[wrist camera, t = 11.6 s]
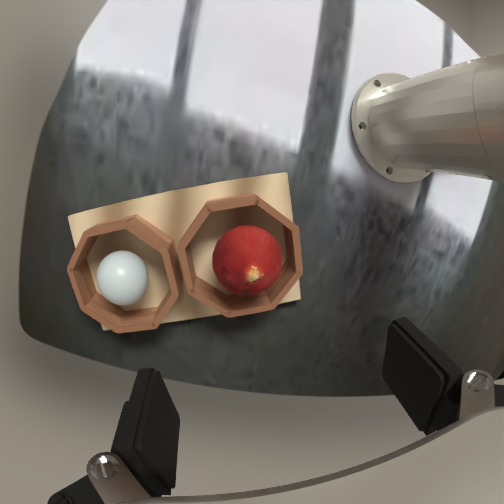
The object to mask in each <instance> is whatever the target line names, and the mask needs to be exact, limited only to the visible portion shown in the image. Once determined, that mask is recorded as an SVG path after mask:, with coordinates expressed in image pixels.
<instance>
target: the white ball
mask: <svg viewBox="0 0 504 504" xmlns="http://www.w3.org/2000/svg"><path fill="white" fill-rule="evenodd" d="M97 284H98V288H99V290H100V292H101V294H102V295H103V296H104V297H105V298H106V299H107V300H108V301H110V302H111V303H114V304H116V305H130V304H133V303H135V302H137V301H138V300H139V299H141V298H142V296H143V295H144V294H145V292H146V290H147V287H148V284H149V273H148V270H147V267H146V265H145V263H144V262H143V260H142V259H141V258H140V257H139V256H137V255H136V254H134V253H132V252H129V251H116V252H113V253H110V254H109V255H107V256H106V257H105V258H104V259H103V260H102V262H101V263H100V265H99V267H98V270H97Z"/></svg>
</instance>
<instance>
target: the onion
mask: <svg viewBox="0 0 504 504" xmlns="http://www.w3.org/2000/svg"><path fill="white" fill-rule="evenodd" d="M282 257H283V254H282V251H281V249H280V246H279V244H278V242H277V239H275V238H274V237H273V236H272V235H271V234H270V233H269V232H268V231H266V230H264V229H262V228H259V227H256V226H254V225H243V226H238V227H235V228H233V229H230V230H228V231H226V232H225V234H224V235H223V236H222V237H221V238H220V239H219V240H218V241H217V243H216V246H215V248H214V251H213V254H212V267H213V270H214V273H215V275H216V277H217V279H218V282H219V283H220V284H222V285H223V286H224V287H225V288H226V289H227V290H228V291H230V292H232V293H235V294H238V295H241V296H251V295H257V294H259V293H261V292H263V291H265V290H267V289H269V288H270V287H271V286H272V285H273V284H274V283H275V282H276V281H277V279H278V277H279V274H280V271H281V269H282Z"/></svg>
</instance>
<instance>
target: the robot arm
mask: <svg viewBox="0 0 504 504" xmlns="http://www.w3.org/2000/svg"><path fill="white" fill-rule="evenodd" d="M374 84H375V85H374ZM351 123H352V131H353V135H354V138H355V142H356V144H357V146H358V149H359V151H360V153H361V154H362V156H363V158H364V159H365V161H366V162H367V163H368V164H369V165H370V167H371V168H372V169H373V170H374V171H376V172H377V173H378V174H379V175H381V176H383V177H385V178H387V179H388V180H392V181H395V182H401V183H413V182H416V181H419V180H422V179H423V178H425V177H426V176H428V175H429V174H430V173H431V171H432V172H440V173H448V174H456V175H463V176H470V177H477V178H483V179H489V180H495V181H500V182H504V53H500V54H496V55H491V56H487V57H484V58H479V59H474V60H470V61H467V62H463V63H459V64H456V65H452V66H449V67H445V68H442V69H439V70H435V71H432V72H429V73H426V74H423V75H420V76H417V77H414V78H408V77H406V76H404V75H401V74H397V73H384V74H380V75H377V76H375V77H372V78H371V79H369V80H368V81H366V82H365V83H364V84H363V85H362V86H361V87H360V89H359V90H358V92H357V94H356V96H355V98H354V102H353V105H352V113H351ZM359 126H360V128H359ZM386 169H387V171H386ZM382 375H383V379H384V380H385V382H386V383H387V385H388V386H389V388H390V389H391V390H392V392H393V393H394V395H395V396H396V398H397V399H398V400H399V402H400V403H401V405H402V406H403V408H404V409H405V411H406V412H407V413H408V415H409V416H410V418H411V419H412V421H413V422H414V424H415V425H416V427H417V428H418V429H419V430H420V431H423V432H424V433H425V435H426V436H427V435H429V434H431V433H433V432H435V431H437V432H435V433H433V434H431V435H429V436H427V437H425V438H423V439H421V440H419V441H417V442H414V443H412V444H410V445H408V446H406V447H404V448H401V449H399V450H397V451H395V452H392V453H390V454H387V455H385V456H382V457H380V458H377V459H374V460H372V461H369V462H366V463H363V464H360V465H358V466H355V467H352V468H349V469H346V470H342V471H339V472H336V473H332V474H329V475H325V476H322V477H318V478H314V479H310V480H306V481H302V482H297V483H292V484H288V485H283V486H277V487H272V488H266V489H260V490H253V491H246V492H238V493H228V494H216V495H203V496H178V497H177V496H176V497H162V495H171V488H175V483H176V482H175V481H176V466H177V453H178V440H179V428H180V418H179V414H178V412H177V410H176V408H175V406H174V404H173V401H172V399H171V397H170V395H169V393H168V390H167V388H166V386H165V383H164V381H163V379H162V376H161V374H160V372H159V371H155V369H154V368H144V369H139V370H138V373H137V376H136V380H135V383H134V386H133V389H132V393H131V396H130V399H129V401H126V402H125V403H124V406H123V409H122V412H121V416H120V419H119V423H118V426H117V430H116V433H115V437H114V440H113V444H112V448H111V451H110V452H101V453H99V454H96V455H94V456H93V457H92V458H91V459H90V461H88V464H87V474H88V475H86V476H84V477H83V478H81V479H79V480H78V481H76V482H74V483H73V484H71V485H69V486H67V487H66V488H64V489H62V490H60V491H59V492H57V493H55V494H54V495H52V496H51V497H50V499H49V501H48V504H504V385H496V384H494V381H493V378H492V377H491V375H489V374H488V373H487V372H485V371H482V370H472V371H469V372H467V373H466V374H465V375H464V374H463V373H462V370H461V369H460V368H459V367H458V366H457V365H456V364H455V363H454V362H453V361H452V360H451V359H450V358H449V357H447V356H446V355H445V354H444V353H443V352H442V351H441V350H440V349H439V348H438V347H437V346H436V345H435V344H434V343H433V342H432V341H431V340H430V339H429V338H428V337H427V336H426V335H425V334H423V333H422V332H421V331H420V330H419V329H418V328H417V327H416V326H415V325H414V324H413V323H412V322H411V321H409V320H408V319H407V318H406V317H402V318H399V319H396V320H393V321H392V323H391V325H389V327H388V335H387V343H386V351H385V358H384V365H383V371H382Z"/></svg>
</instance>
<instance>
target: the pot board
mask: <svg viewBox="0 0 504 504" xmlns="http://www.w3.org/2000/svg"><path fill="white" fill-rule="evenodd" d="M68 220H69V224H70V228H71V232H72V236H73V240H74V244H75V248H76V249H75V251H74V253H73V256H72V258H71V260H70V262H69V265H68V267H67V271H68V274H69V277H70V280H71V283H72V286H73V289H74V292H75V295H76V298H77V300H78V303H79V306H80V308H81V309H82V311H84V312H85V313H86V314H88V315H89V316H91V317H92V318H94V319H95V320H97V321H98V322H100V323H101V326H102V328H103V330H112V331H114V332H115V333H126V332H134V331H143V330H151V329H156V328H157V327H158V326H159V324H160V323H167V322H175V321H181V320H188V319H195V318H201V317H207V316H213V315H219V314H222V315H224V316H225V317H228V318H231V317H236V316H242V315H248V314H253V313H258V312H264V311H269V310H273V309H275V308H276V306H277V305H278V304H280V303H285V302H290V301H295V300H300V299H301V297H300V286H299V278H300V277H301V275H302V273H303V267H302V256H301V245H300V236H299V227H298V226H297V225H296V224H294V223H293V217H292V208H291V200H290V192H289V184H288V176H287V173H276V174H269V175H262V176H255V177H248V178H241V179H235V180H229V181H223V182H217V183H211V184H205V185H200V186H195V187H189V188H184V189H179V190H174V191H169V192H164V193H159V194H155V195H150V196H145V197H141V198H136V199H132V200H128V201H123V202H119V203H115V204H111V205H107V206H103V207H99V208H95V209H91V210H88V211H84V212H80V213H76V214H73V215H70V216H68ZM243 225H254V226H256V227H259V228H262V229H264V230H266V231H268V232H269V233H270V234H271V235H272V236H273V237H274V238H275V239H277V242H278V244H279V246H280V249H281V251H282V254H283V257H282V269H281V271H280V274H279V277H278V279H277V281H276V282H275V283H274V284H273V285H272V286H271V287H270V288H269V289H267V290H265V291H263V292H261V293H259V294H257V295H251V296H241V295H238V294H235V293H232V292H230V291H228V290H227V289H226V288H225V287H224V286H223V285H222V284H220V283H219V282H218V279H217V277H216V275H215V273H214V270H213V267H212V254H213V251H214V248H215V246H216V243H217V241H218V240H219V239H220V238H221V237H222V236H223V235H224V234H225V232H226V231H228V230H230V229H233V228H235V227H238V226H243ZM116 251H129V252H132V253H134V254H136V255H137V256H139V257H140V258H141V259H142V260H143V262H144V263H145V265H146V267H147V270H148V273H149V284H148V287H147V290H146V292H145V294H144V295H143V296H142V298H141V299H139V300H138V301H137V302H135V303H133V304H130V305H116V304H114V303H111V302H110V301H108V300H107V299H106V298H105V297H104V296H103V295H102V294H101V292H100V290H99V288H98V284H97V270H98V267H99V265H100V263H101V262H102V260H103V259H104V258H105V257H106V256H107V255H109V254H110V253H113V252H116Z"/></svg>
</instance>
